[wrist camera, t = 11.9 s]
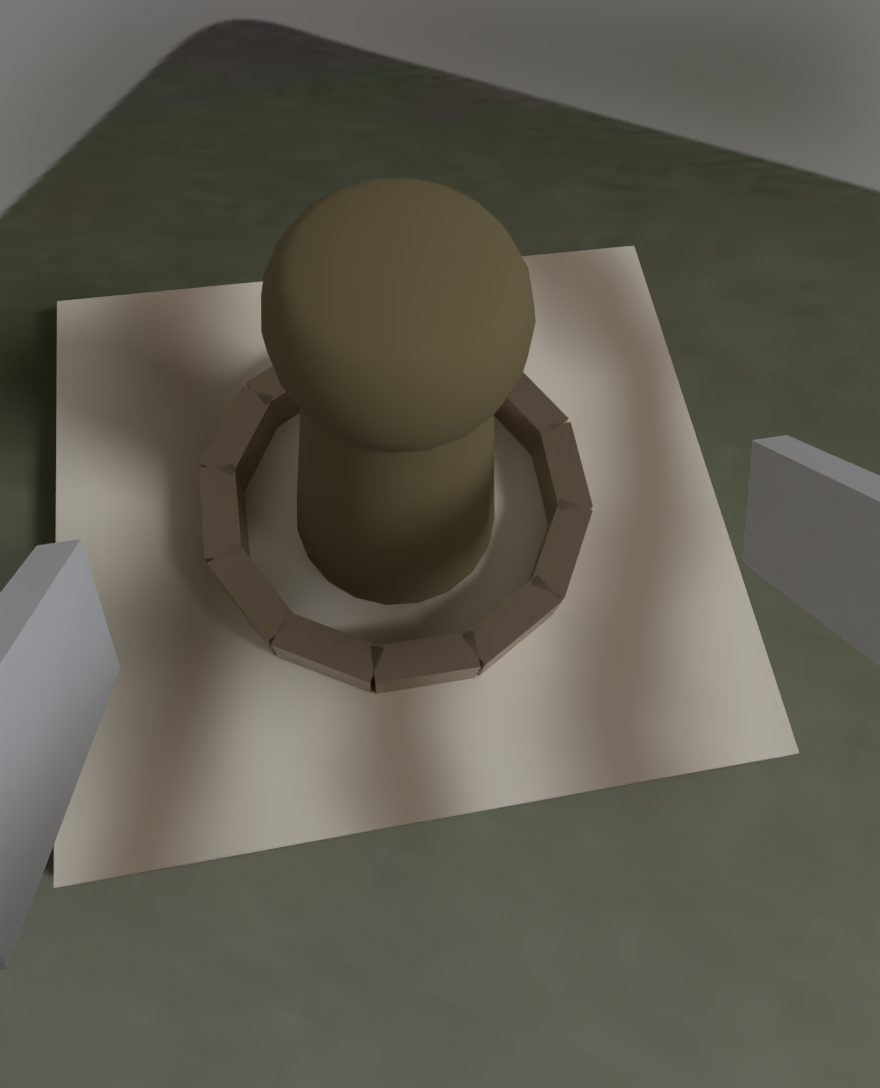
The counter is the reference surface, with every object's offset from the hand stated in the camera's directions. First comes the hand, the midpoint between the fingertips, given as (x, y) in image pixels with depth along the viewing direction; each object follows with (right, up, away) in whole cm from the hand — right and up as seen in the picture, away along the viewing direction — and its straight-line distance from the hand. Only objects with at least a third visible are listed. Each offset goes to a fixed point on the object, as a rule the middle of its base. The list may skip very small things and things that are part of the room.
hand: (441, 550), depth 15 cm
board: (-1, +1, +9) cm, 10 cm away
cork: (-1, +1, +9) cm, 9 cm away
